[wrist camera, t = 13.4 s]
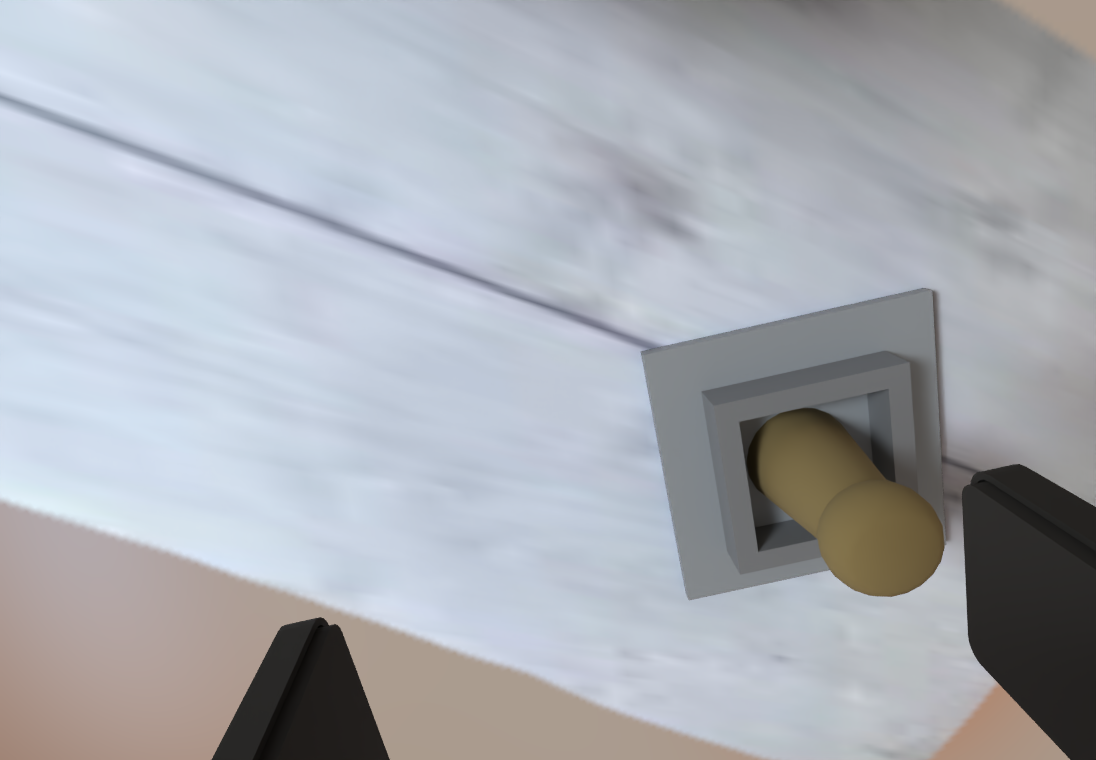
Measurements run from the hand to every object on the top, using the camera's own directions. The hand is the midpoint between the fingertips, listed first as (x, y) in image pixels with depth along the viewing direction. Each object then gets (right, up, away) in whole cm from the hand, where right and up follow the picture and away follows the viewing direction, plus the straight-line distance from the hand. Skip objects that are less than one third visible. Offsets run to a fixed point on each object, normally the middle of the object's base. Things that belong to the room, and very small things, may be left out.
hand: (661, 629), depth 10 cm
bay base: (+13, 0, +30) cm, 33 cm away
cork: (+13, -1, +30) cm, 32 cm away
